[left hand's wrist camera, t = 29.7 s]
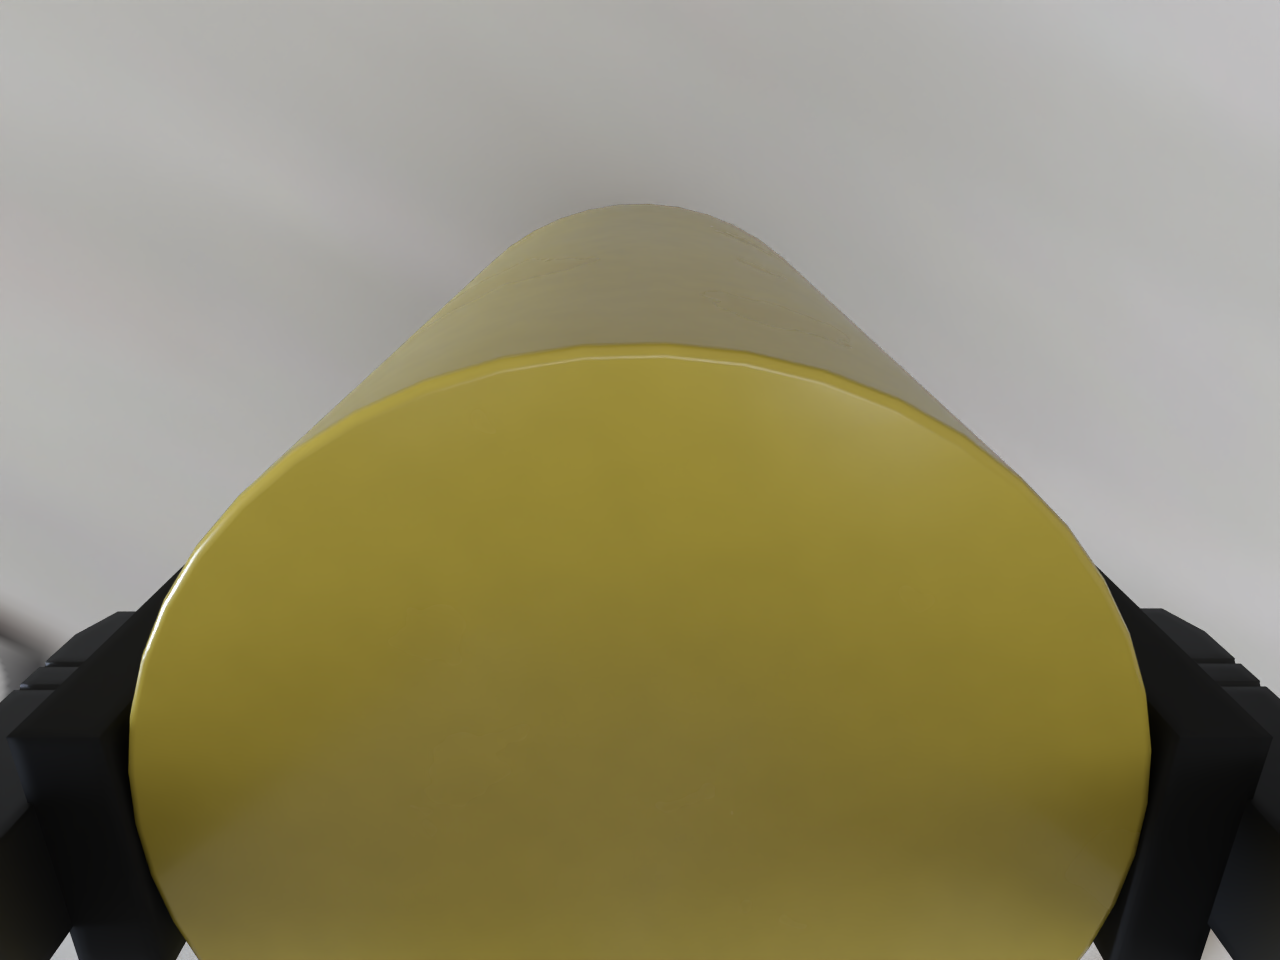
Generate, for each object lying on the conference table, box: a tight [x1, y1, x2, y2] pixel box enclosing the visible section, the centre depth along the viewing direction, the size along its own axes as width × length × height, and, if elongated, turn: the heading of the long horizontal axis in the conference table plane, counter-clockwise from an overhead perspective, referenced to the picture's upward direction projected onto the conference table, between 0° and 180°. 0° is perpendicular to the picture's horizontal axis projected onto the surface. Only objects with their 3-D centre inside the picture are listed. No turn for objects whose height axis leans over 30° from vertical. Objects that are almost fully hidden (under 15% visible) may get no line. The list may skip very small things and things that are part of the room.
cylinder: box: [128, 204, 1151, 960], centre depth 13 cm, size 9×9×12 cm
